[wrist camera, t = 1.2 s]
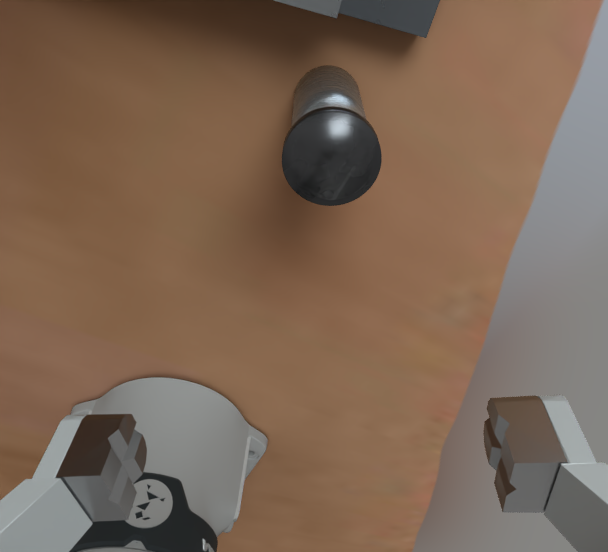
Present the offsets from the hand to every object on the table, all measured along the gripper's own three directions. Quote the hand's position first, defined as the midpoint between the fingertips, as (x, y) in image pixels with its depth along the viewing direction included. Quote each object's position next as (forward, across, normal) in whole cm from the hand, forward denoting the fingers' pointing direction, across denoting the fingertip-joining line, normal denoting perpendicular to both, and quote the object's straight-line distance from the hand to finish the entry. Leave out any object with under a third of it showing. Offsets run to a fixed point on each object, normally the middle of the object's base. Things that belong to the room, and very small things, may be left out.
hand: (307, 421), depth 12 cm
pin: (+24, 0, 0) cm, 24 cm away
